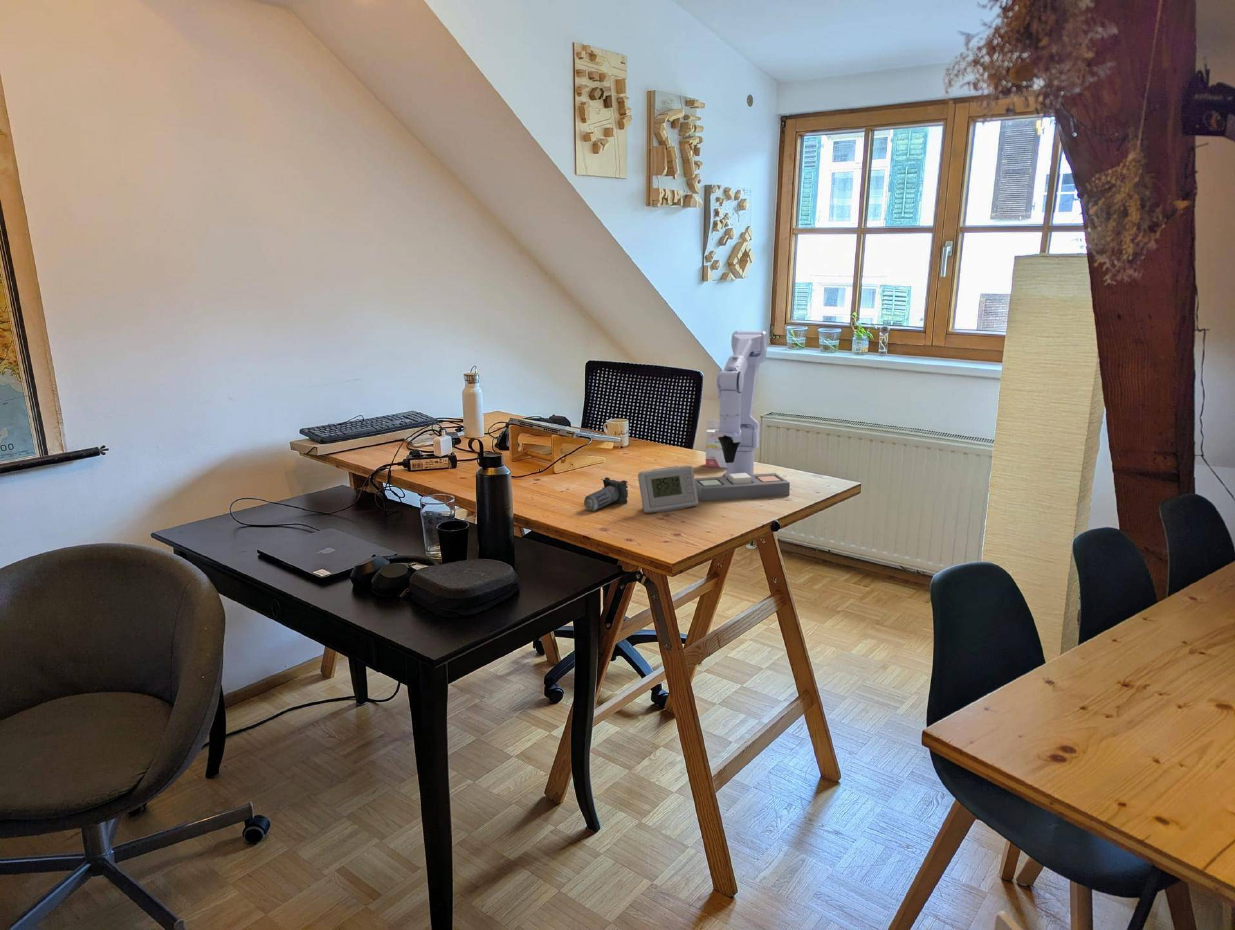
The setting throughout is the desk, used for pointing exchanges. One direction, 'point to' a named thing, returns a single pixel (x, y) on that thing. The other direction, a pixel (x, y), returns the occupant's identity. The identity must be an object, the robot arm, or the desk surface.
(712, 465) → the ink cartridge box
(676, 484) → the digital clock
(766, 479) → the terracotta key
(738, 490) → the panel
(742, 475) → the cream key
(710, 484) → the sage key
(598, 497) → the ribbed flanged cylinder
